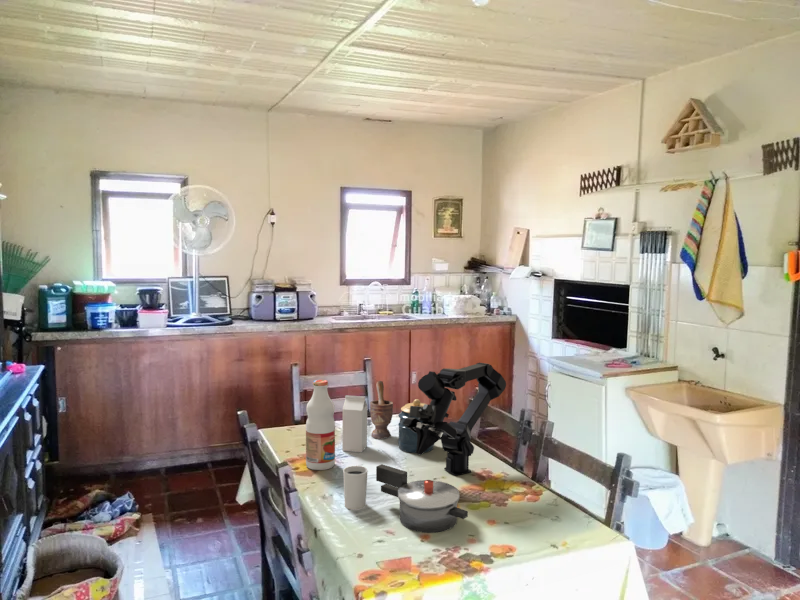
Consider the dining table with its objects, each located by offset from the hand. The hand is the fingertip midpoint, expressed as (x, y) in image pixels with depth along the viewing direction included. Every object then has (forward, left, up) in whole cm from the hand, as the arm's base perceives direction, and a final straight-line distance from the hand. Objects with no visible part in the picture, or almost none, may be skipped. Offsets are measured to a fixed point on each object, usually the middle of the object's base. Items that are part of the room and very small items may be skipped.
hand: (418, 454), depth 174 cm
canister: (-19, -33, -11) cm, 40 cm away
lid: (+9, +14, -5) cm, 17 cm away
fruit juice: (+18, -32, -11) cm, 38 cm away
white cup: (+21, +1, -11) cm, 24 cm away
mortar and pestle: (-14, -52, -11) cm, 55 cm away
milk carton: (+1, -42, -11) cm, 43 cm away
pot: (+8, +16, -11) cm, 21 cm away
